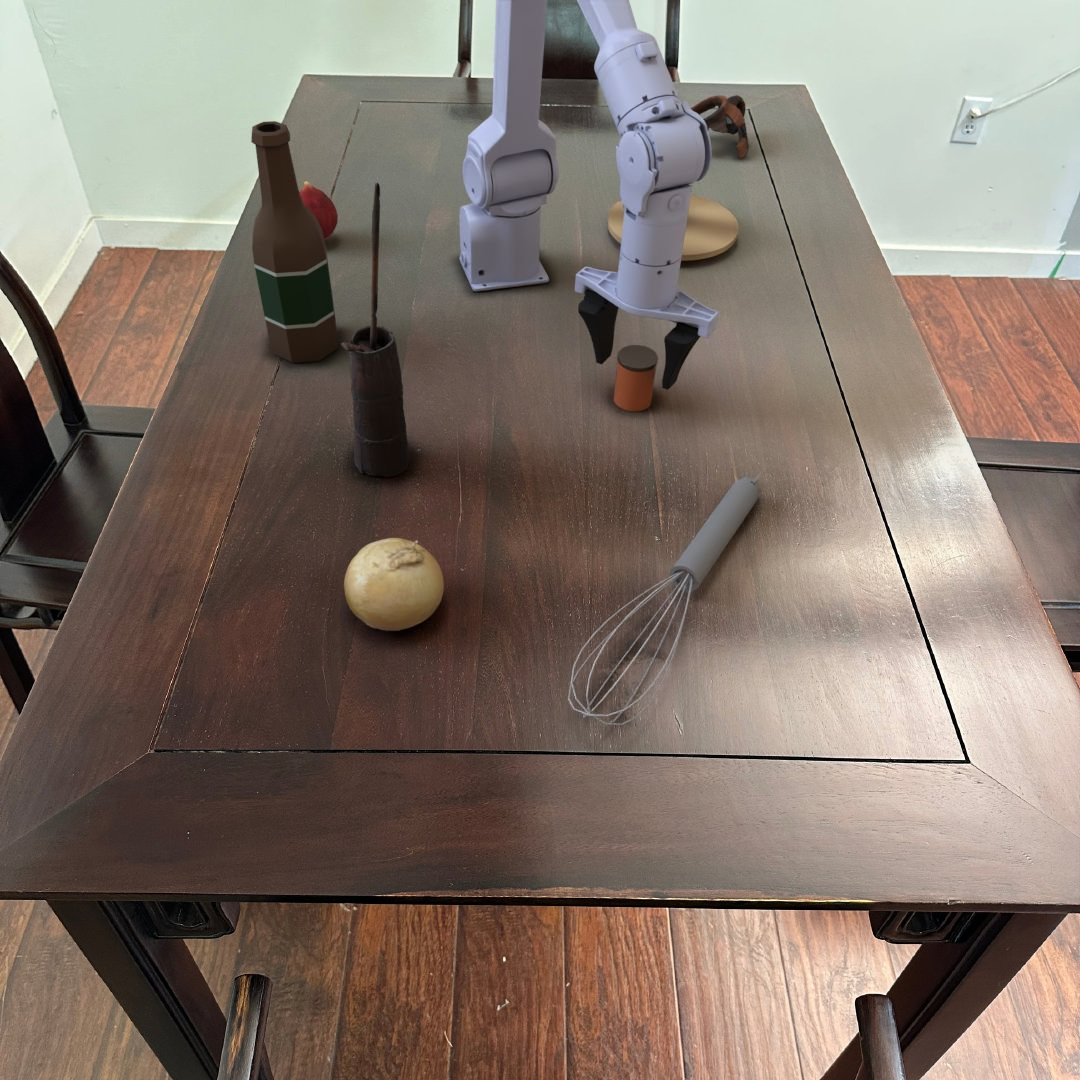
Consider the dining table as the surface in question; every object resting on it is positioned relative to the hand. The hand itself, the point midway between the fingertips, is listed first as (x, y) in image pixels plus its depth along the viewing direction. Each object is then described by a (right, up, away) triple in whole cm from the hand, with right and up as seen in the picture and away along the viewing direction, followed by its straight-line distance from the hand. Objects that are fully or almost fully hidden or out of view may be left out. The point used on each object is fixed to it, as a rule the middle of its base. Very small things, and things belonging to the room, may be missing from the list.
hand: (636, 371), depth 99 cm
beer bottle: (-36, +4, +8) cm, 37 cm away
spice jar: (0, -2, +3) cm, 4 cm away
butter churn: (-26, -10, -6) cm, 29 cm away
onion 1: (-38, +20, +23) cm, 49 cm away
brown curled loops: (+17, +42, +47) cm, 66 cm away
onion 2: (-22, -23, -18) cm, 37 cm away
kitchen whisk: (+2, -22, -16) cm, 28 cm away
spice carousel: (+7, +23, +27) cm, 36 cm away
